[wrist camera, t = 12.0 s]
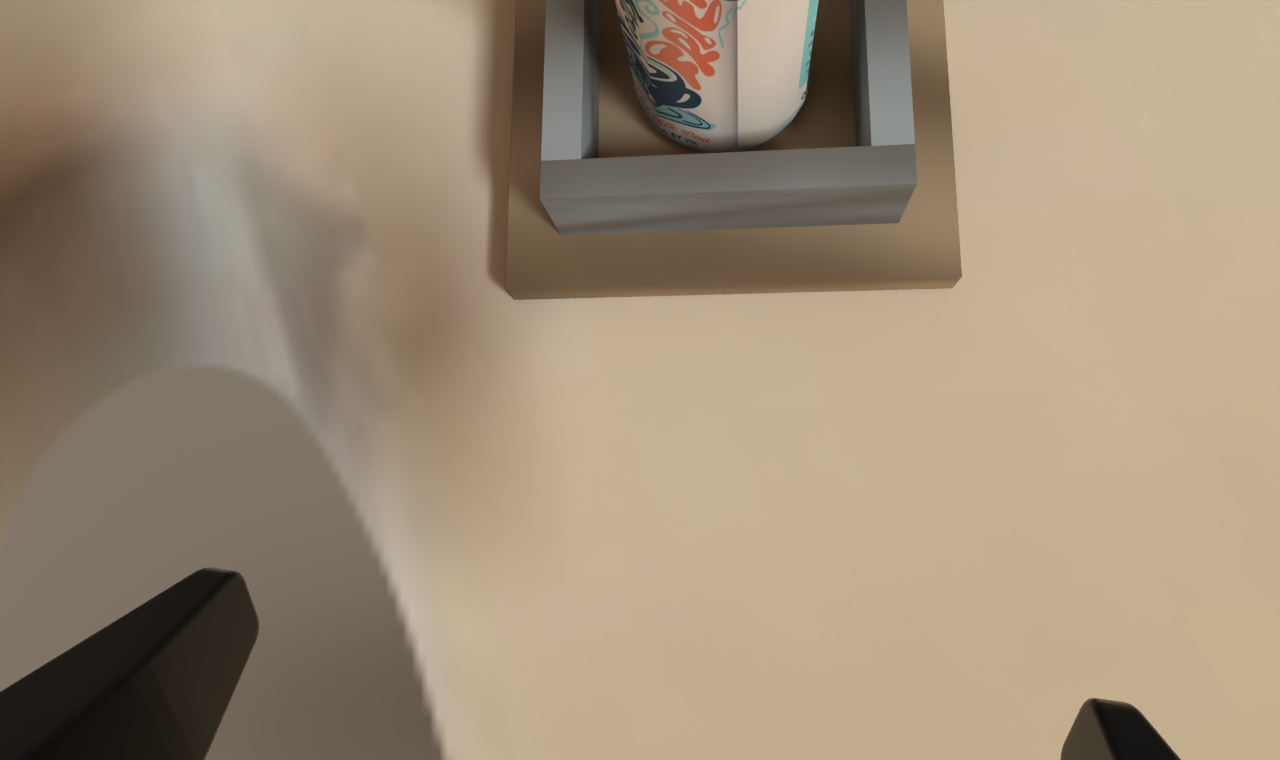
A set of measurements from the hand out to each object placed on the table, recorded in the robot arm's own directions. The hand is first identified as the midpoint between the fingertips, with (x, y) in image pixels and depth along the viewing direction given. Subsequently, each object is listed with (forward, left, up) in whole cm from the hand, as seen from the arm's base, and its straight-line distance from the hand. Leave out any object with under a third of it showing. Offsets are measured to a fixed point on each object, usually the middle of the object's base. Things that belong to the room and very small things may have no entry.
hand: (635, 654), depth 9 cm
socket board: (+14, -1, -14) cm, 20 cm away
